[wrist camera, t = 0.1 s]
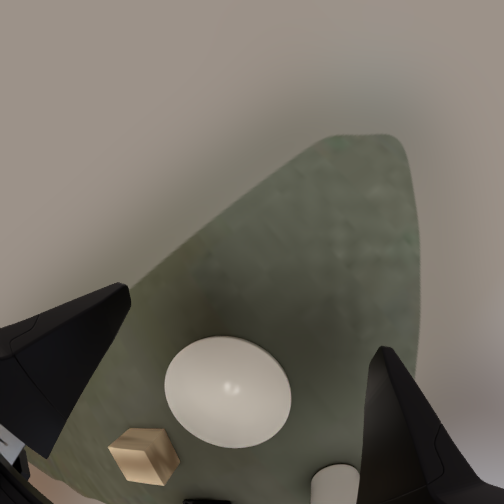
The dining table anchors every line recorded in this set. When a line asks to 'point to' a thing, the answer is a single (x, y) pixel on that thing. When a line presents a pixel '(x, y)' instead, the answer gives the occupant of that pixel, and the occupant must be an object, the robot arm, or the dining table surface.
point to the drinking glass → (335, 485)
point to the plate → (228, 391)
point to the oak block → (145, 455)
